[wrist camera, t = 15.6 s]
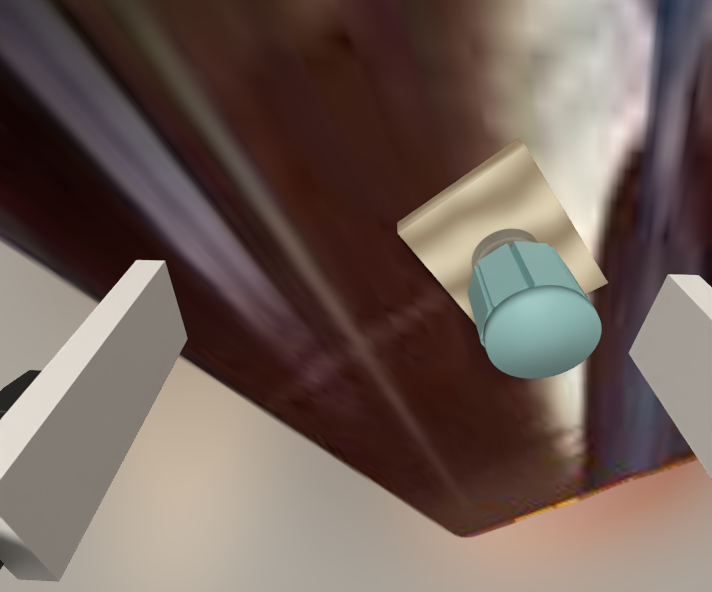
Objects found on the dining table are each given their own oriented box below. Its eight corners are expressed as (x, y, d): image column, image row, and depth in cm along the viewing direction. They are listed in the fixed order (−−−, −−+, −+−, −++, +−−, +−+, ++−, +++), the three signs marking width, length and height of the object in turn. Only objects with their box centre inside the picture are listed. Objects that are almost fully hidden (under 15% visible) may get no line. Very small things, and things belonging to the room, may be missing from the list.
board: (397, 222, 40) (397, 233, 38) (518, 137, 35) (525, 145, 34) (487, 329, 47) (491, 342, 45) (599, 271, 42) (607, 282, 40)
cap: (500, 332, 39) (520, 392, 34) (451, 278, 36) (464, 334, 30) (582, 287, 36) (620, 345, 30) (536, 223, 33) (568, 275, 27)
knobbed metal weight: (458, 253, 39) (470, 296, 34) (520, 215, 37) (543, 255, 32) (492, 296, 42) (508, 342, 37) (552, 263, 40) (579, 307, 34)
